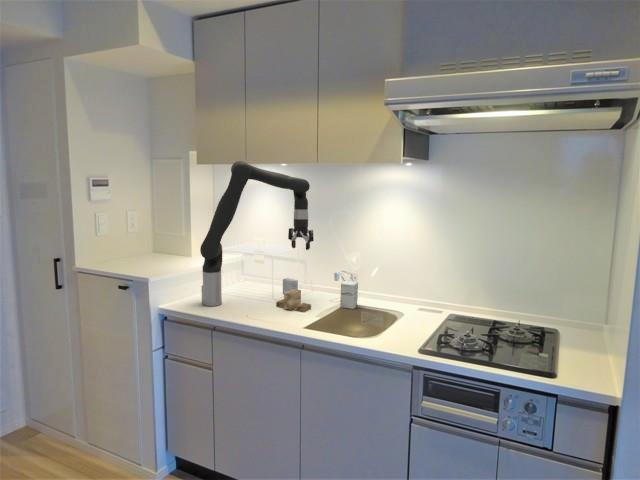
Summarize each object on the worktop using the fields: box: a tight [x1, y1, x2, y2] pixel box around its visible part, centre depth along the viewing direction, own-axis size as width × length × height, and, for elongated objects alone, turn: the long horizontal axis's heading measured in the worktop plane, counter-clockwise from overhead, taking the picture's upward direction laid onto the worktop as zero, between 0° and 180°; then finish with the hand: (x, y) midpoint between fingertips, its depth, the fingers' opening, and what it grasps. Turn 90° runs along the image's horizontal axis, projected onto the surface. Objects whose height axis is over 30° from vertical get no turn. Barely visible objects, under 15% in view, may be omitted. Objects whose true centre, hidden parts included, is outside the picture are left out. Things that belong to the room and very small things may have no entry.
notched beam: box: [275, 298, 312, 313], centre depth 233 cm, size 17×6×2 cm, turn 58°
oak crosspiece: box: [283, 289, 302, 310], centre depth 232 cm, size 4×9×8 cm, turn 149°
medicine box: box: [282, 277, 299, 295], centre depth 258 cm, size 8×4×9 cm, turn 48°
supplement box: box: [339, 280, 359, 310], centre depth 237 cm, size 7×7×13 cm
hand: (300, 248), depth 242 cm, fingers open, 8 cm apart
